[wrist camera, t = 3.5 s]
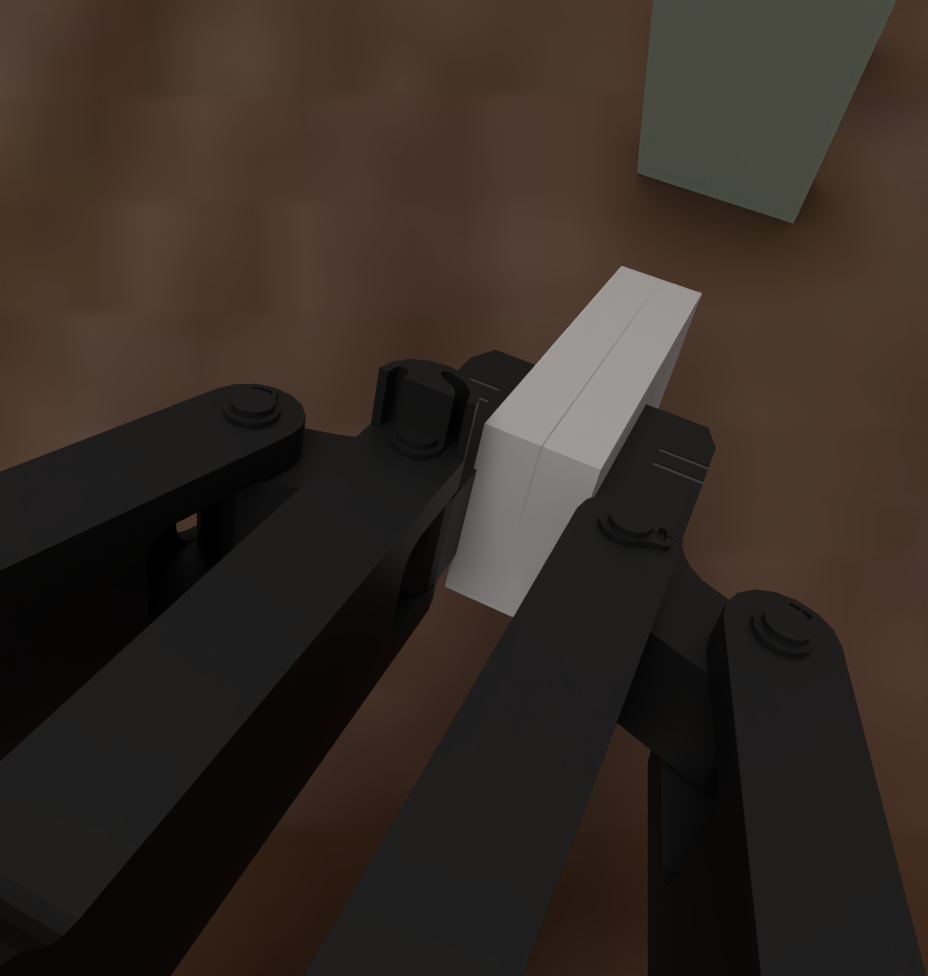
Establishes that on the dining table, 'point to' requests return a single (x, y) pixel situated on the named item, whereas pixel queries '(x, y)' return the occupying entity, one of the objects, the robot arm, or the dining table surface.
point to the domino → (751, 94)
